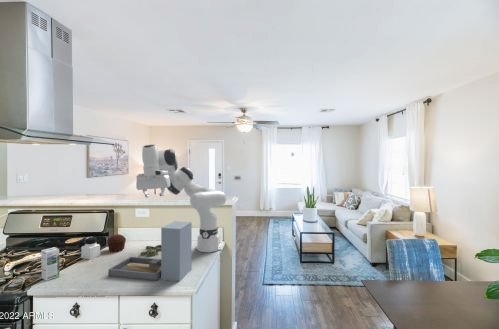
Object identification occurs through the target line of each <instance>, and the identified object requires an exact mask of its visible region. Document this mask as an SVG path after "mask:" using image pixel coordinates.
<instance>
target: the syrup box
mask: <svg viewBox="0 0 499 329" xmlns="http://www.w3.org/2000/svg"><path fill="white" fill-rule="evenodd" d="M40 255H41V256H40V257H41V258H40V260H41V279H42V280H45V282H47V281H50V280H53V279H56V278H60V274H61V273H60V248H58V247H56V246H55V247H51V248H46V249H41V251H40Z"/></svg>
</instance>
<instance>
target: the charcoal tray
mask: <svg viewBox="0 0 499 329" xmlns="http://www.w3.org/2000/svg"><path fill="white" fill-rule="evenodd" d="M153 259H154V258H151V257H137V256H129V257H128V258H125V259H124V260H122V261H121V262H119V263H117V264H116V265H113V266H112V267H110V268H109V269H107V270H108V271H107V272H108V277H111V278H112V277H114V278H122V279H132V280H133V279H134V280H141V281H152V282H157V281H158V280H160V279H161V265H160V270H159V271H158V272H147V271H136V270H127V265H128V264H129V263H138V264H149V262H150V261H152V260H153Z"/></svg>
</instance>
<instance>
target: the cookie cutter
mask: <svg viewBox="0 0 499 329" xmlns="http://www.w3.org/2000/svg"><path fill="white" fill-rule="evenodd" d="M145 250H146V251H142V252H140V256H142V257H143V256H146V258H151V257H156V256H158V254H159V252H161V244H157V245H155V246H151V245H146V246H145ZM155 255H156V256H155Z"/></svg>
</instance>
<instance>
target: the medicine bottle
mask: <svg viewBox="0 0 499 329" xmlns="http://www.w3.org/2000/svg"><path fill="white" fill-rule="evenodd" d="M97 241H98V240H97V237H95V236H88V237H86V238H85V239H84V245H82V246H81V248H80V249H81V252H80V253H81V254H80V255H81V257H80V258H81V259H86V260H92V259H95V258H98V257H100V256H101V245H100V244H99V243H97Z"/></svg>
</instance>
